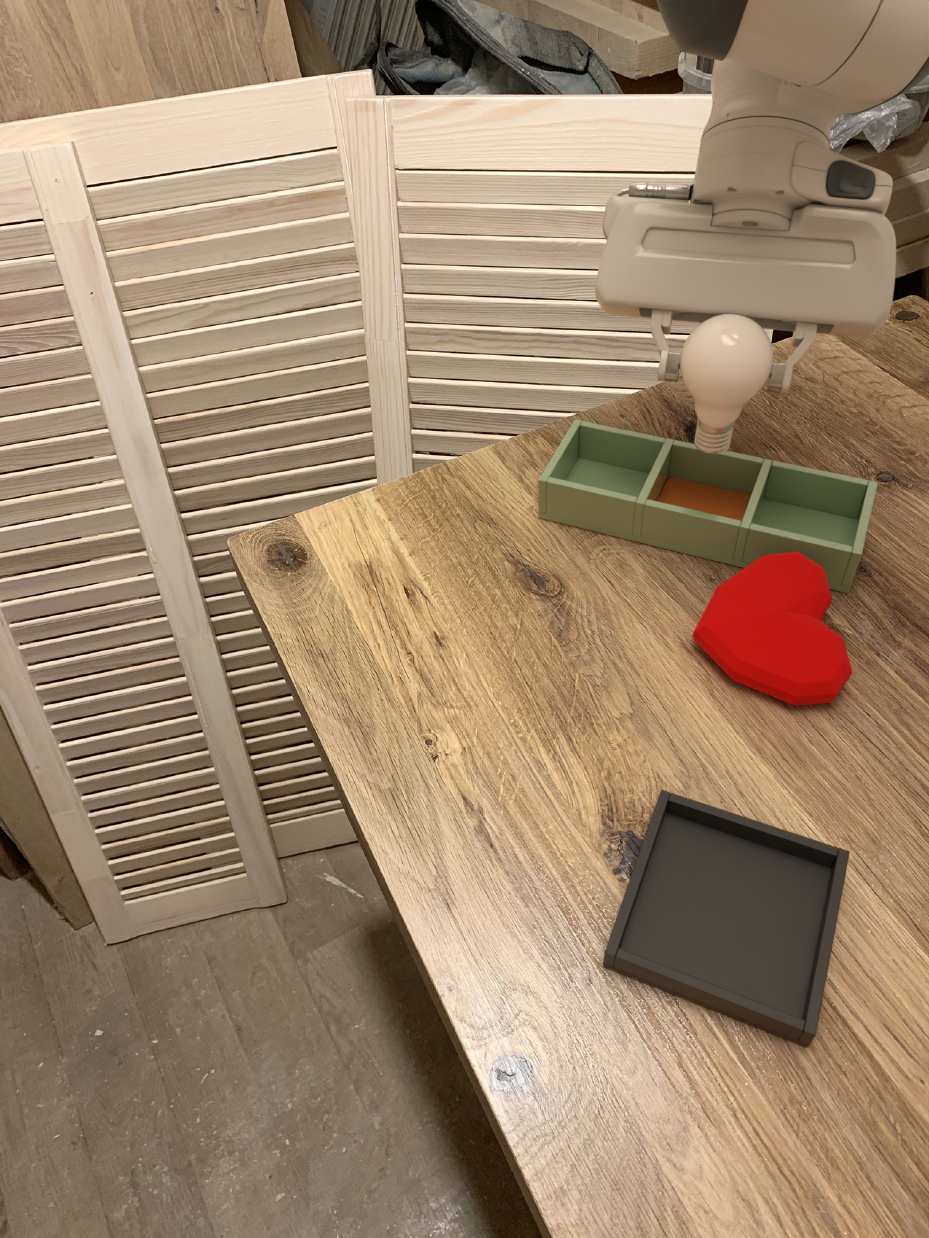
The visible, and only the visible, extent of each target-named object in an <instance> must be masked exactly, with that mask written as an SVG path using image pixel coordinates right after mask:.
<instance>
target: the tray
mask: <svg viewBox="0 0 929 1238" xmlns="http://www.w3.org/2000/svg"><path fill="white" fill-rule="evenodd" d="M849 857H850V851H849V850H846V849H844V848H839V847H838V846H834V845H832V844H828V843H825V842H822V841H819V840H817V839H813V838H810V837H808V836H804V835H801V834H798V833H794V832H792V831H789V830H786V829H782V828H780V827H776V826H773V825H771V824H767V823H765V822H762V821H759V820H756V819H752V818H749V817H747V816H743V815H740V814H737V813H734V812H731V811H728V810H724V809H721V808H719V807H715V806H713V805H710V804H706V803H703V802H700V801H697V800H694V799H691V798H689V797H685V796H682V795H679V794H676V793H673V792H670V791H668V790H664V789H661V790H660V791H659V795H658V798H657V800H656V804H655V806H654V809H653V812H652V815H651V817H650V821H649V824H648V826H647V830H646V832H645V835H644V838H643V841H642V844H641V847H640V849H639V852H638V855H637V858H636V860H635V863H634V867H633V869H632V873H631V875H630V877H629V881H628V885H627V887H626V890H625V893H624V896H623V898H622V902H621V904H620V907H619V909H618V913H617V915H616V918H615V921H614V924H613V928H612V930H611V932H610V936H609V938H608V942H607V943H606V944H607V945H606V947H605V950H604V956H603V963H602V967H603V968H605V969H608V970H610V971H613V972H616V973H618V974H621V975H623V976H625V977H628V978H631V979H633V980H635V981H638V982H640V983H643V984H646V985H649V986H651V987H652V988H656V989H659V990H661V991H662V992H663V991H664V992H666V993H668V994H670V995H673V996H676V997H679V998H681V999H683V1000H686V1001H689V1002H691V1003H694V1004H696V1005H699V1006H701V1007H704V1008H706V1009H708V1010H711V1011H713V1012H716V1013H719V1014H721V1015H724V1016H726V1017H728V1018H731V1019H734V1020H737V1021H739V1022H741V1023H744V1024H746V1025H750V1026H751V1027H754V1028H757V1029H759V1030H762V1031H764V1032H766V1033H769V1034H771V1035H774V1036H776V1037H778V1038H781V1039H784V1040H787V1041H788V1042H791V1043H794V1044H797V1045H799V1046H802V1047H804V1048H809V1046H810V1045H811V1043H812V1042H813V1040H814V1039H815V1038H816V1036H817V1030H818V1024H819V1020H820V1014H821V1009H822V1004H823V997H824V994H825V993H824V992H825V989H826V988H825V987H826V982H827V976H828V972H829V971H828V970H829V966H830V961H831V960H830V959H831V955H832V949H833V944H834V938H835V932H836V928H837V922H838V916H839V911H840V905H841V900H842V895H843V890H844V886H845V885H844V884H845V880H846V879H845V878H846V873H847V868H848V863H849Z"/></svg>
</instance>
